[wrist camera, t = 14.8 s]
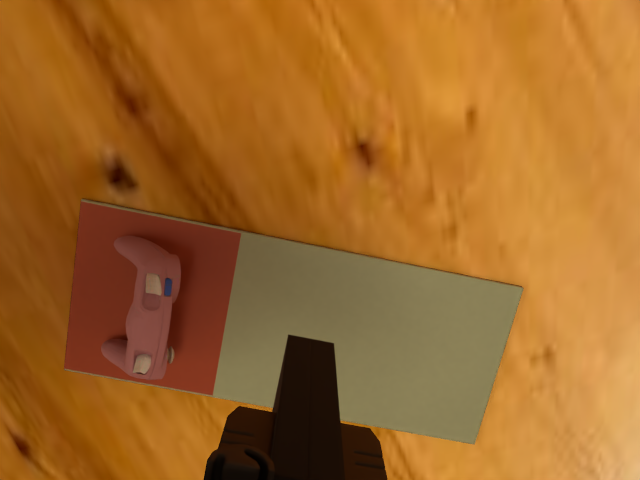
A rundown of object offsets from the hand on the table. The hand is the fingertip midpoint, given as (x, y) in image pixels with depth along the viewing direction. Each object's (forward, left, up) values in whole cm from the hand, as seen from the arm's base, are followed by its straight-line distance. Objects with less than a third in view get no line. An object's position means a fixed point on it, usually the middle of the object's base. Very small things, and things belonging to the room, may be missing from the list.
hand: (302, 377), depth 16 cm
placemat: (0, -8, -22) cm, 24 cm away
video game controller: (-11, -8, -22) cm, 26 cm away
